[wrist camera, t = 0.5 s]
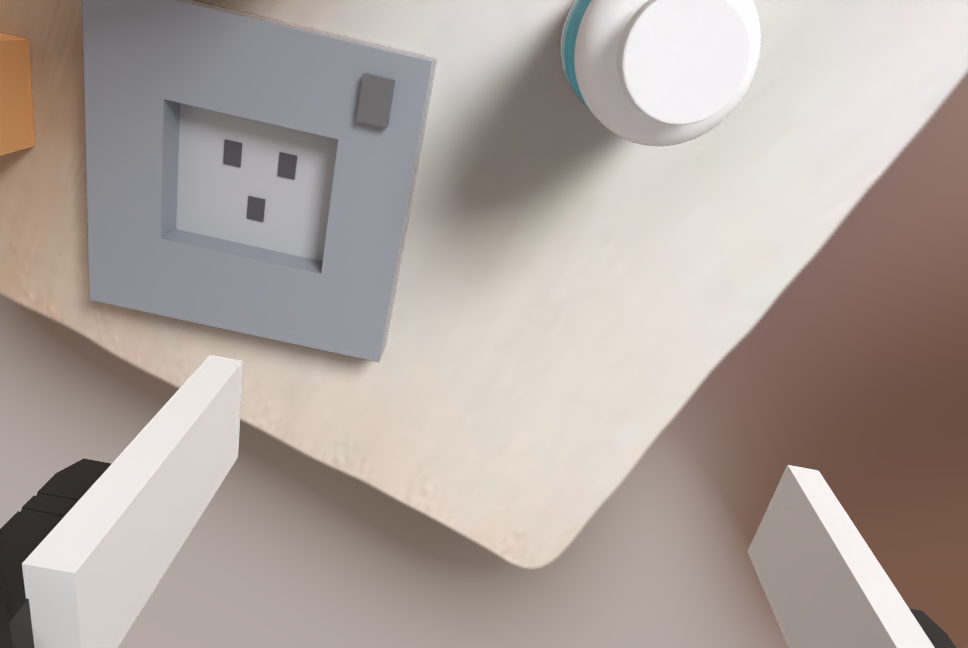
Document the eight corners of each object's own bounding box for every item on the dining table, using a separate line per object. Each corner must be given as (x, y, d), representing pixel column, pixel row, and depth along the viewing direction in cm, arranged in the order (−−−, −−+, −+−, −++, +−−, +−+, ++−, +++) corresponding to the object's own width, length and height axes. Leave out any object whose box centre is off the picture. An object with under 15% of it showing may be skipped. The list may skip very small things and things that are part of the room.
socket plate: (108, -20, 37) (74, -23, 34) (437, 58, 38) (430, 62, 35) (111, 285, 44) (84, 303, 41) (386, 344, 45) (377, 366, 42)
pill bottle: (573, 128, 39) (599, 182, 27) (547, -12, 36) (562, -25, 24) (707, 96, 38) (798, 137, 26) (691, -52, 35) (785, -86, 23)
